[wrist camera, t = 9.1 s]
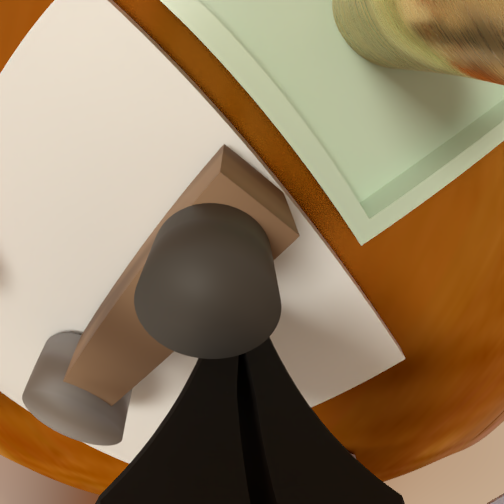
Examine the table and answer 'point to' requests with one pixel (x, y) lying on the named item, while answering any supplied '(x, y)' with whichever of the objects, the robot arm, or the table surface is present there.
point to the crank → (172, 301)
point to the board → (139, 210)
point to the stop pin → (427, 35)
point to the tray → (350, 106)
